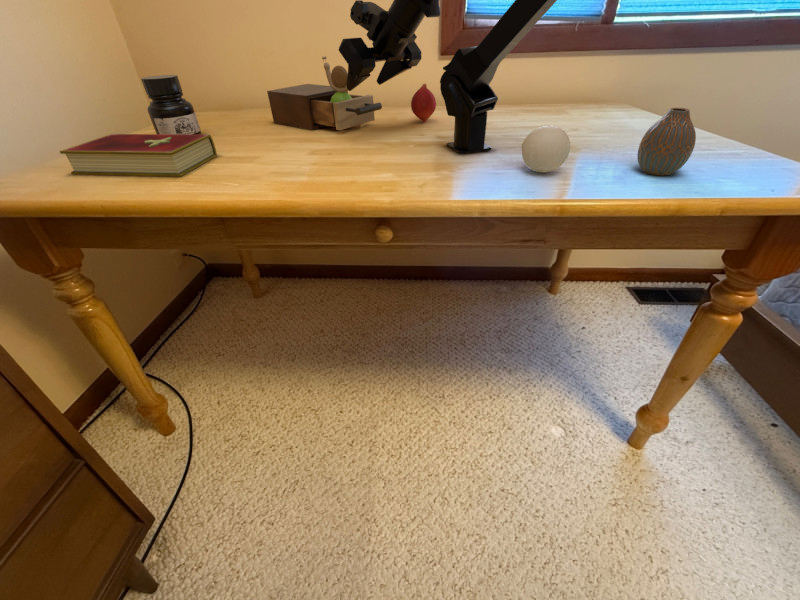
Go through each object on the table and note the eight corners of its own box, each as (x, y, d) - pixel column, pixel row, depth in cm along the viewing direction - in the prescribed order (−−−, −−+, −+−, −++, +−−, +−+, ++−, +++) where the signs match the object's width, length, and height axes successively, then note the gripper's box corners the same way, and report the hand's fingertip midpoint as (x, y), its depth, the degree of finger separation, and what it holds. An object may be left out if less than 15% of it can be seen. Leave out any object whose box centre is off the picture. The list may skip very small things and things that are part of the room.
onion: (408, 123, 90) (407, 85, 85) (414, 118, 94) (414, 81, 90) (432, 124, 89) (433, 85, 84) (437, 119, 93) (438, 81, 88)
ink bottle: (163, 146, 80) (138, 81, 73) (152, 139, 86) (128, 77, 79) (209, 137, 85) (190, 75, 78) (196, 131, 91) (177, 72, 84)
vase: (682, 182, 55) (709, 116, 50) (629, 174, 58) (649, 111, 53) (683, 168, 60) (708, 106, 55) (634, 162, 63) (654, 103, 58)
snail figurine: (337, 114, 91) (330, 55, 84) (359, 116, 89) (354, 55, 81) (323, 119, 88) (314, 57, 80) (346, 121, 85) (339, 58, 78)
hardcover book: (121, 154, 77) (111, 132, 74) (217, 155, 74) (210, 132, 71) (72, 174, 67) (58, 149, 65) (180, 176, 64) (170, 150, 62)
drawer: (389, 122, 88) (388, 96, 85) (354, 133, 81) (351, 105, 78) (335, 114, 97) (332, 90, 94) (300, 123, 90) (295, 98, 87)
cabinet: (350, 119, 96) (347, 87, 91) (312, 130, 88) (306, 95, 84) (312, 113, 103) (307, 83, 99) (273, 122, 95) (266, 90, 91)
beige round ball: (540, 161, 65) (547, 118, 61) (573, 173, 60) (584, 127, 56) (508, 168, 62) (514, 124, 58) (540, 181, 57) (549, 134, 53)
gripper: (408, -18, 73) (371, 50, 86) (338, -21, 62) (306, 57, 74) (441, 31, 74) (399, 91, 86) (378, 37, 63) (340, 105, 75)
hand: (363, 86), depth 80 cm, fingers open, 9 cm apart
